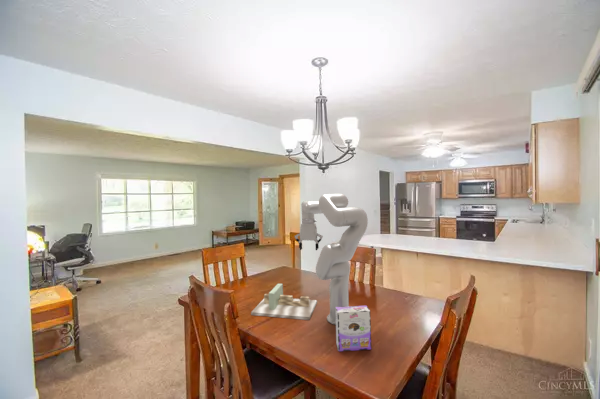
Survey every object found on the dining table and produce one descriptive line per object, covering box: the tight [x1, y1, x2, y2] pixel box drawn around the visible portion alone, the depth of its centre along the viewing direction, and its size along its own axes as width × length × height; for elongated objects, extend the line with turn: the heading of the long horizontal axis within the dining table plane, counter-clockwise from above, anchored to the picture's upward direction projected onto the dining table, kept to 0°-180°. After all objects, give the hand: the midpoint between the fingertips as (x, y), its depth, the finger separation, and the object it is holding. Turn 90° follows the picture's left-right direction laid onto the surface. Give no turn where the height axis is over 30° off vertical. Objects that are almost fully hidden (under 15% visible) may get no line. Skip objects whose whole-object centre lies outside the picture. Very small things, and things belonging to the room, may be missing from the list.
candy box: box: [335, 305, 372, 352], centre depth 115 cm, size 14×6×16 cm, turn 92°
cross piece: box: [268, 283, 284, 310], centre depth 158 cm, size 16×3×9 cm, turn 166°
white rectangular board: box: [250, 293, 318, 321], centre depth 155 cm, size 32×22×6 cm
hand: (308, 249), depth 167 cm, fingers open, 9 cm apart
